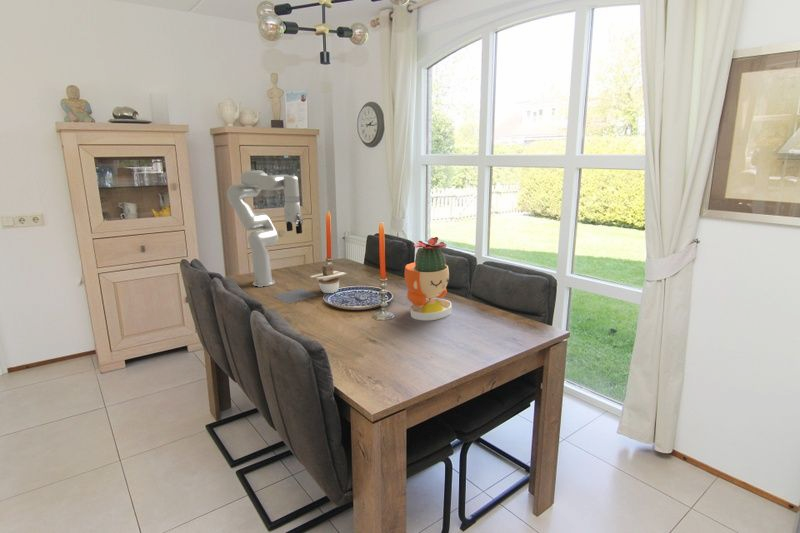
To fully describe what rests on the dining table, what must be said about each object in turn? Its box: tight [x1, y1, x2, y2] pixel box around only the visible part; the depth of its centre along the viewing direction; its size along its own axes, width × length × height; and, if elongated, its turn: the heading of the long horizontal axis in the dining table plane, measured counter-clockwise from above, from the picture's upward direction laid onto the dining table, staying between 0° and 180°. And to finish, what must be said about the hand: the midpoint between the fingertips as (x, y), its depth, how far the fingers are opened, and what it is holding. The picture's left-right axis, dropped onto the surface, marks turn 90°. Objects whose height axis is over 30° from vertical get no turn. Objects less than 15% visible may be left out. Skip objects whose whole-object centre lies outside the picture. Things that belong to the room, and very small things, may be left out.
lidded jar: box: [318, 277, 340, 294], centre depth 245 cm, size 11×11×9 cm
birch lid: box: [308, 264, 349, 281], centre depth 244 cm, size 15×15×6 cm
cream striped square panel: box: [272, 288, 319, 305], centre depth 243 cm, size 18×18×1 cm
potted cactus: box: [403, 236, 452, 321], centre depth 209 cm, size 22×22×35 cm
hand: (294, 232), depth 243 cm, fingers open, 9 cm apart
